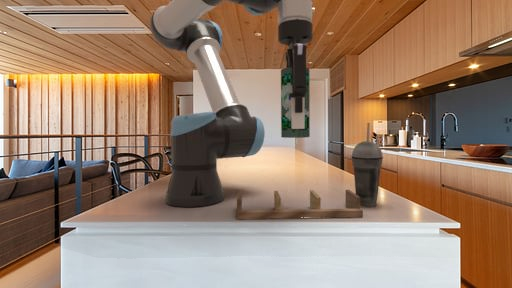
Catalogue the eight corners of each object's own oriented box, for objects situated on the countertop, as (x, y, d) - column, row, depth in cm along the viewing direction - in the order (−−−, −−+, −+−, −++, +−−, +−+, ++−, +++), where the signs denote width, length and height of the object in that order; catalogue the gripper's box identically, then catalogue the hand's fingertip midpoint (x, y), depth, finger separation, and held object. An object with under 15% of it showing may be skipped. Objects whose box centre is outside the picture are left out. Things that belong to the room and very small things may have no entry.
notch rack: (236, 219, 64) (236, 200, 64) (238, 207, 73) (238, 191, 73) (362, 217, 64) (362, 198, 64) (348, 206, 73) (348, 189, 73)
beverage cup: (377, 200, 78) (378, 122, 77) (386, 208, 71) (387, 122, 70) (348, 200, 79) (348, 123, 77) (354, 208, 71) (355, 122, 70)
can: (279, 137, 66) (279, 67, 65) (284, 136, 72) (284, 72, 71) (307, 137, 65) (307, 66, 64) (310, 136, 70) (310, 71, 70)
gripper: (322, 6, 57) (322, 128, 59) (304, 36, 77) (304, 128, 78) (282, 6, 57) (283, 129, 58) (274, 36, 76) (275, 128, 78)
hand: (295, 128), depth 68 cm, fingers closed on can, 6 cm apart
